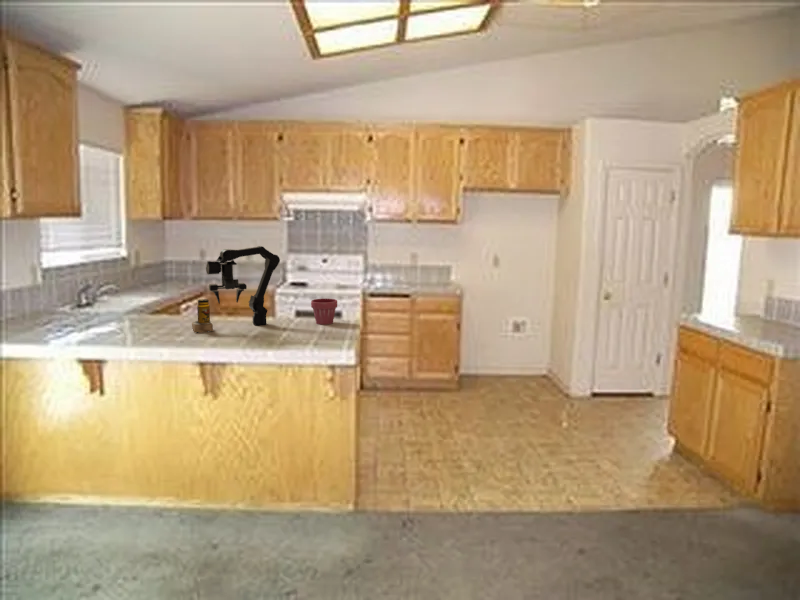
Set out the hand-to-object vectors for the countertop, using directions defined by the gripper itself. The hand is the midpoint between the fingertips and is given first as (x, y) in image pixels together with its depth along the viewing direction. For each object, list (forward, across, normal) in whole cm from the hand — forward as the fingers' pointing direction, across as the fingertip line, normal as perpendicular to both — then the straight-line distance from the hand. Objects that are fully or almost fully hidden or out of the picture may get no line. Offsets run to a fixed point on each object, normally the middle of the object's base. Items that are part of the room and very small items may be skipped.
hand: (228, 303), depth 342 cm
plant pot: (+13, +50, -8) cm, 53 cm away
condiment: (+9, -14, -3) cm, 17 cm away
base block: (+13, -14, -4) cm, 19 cm away
